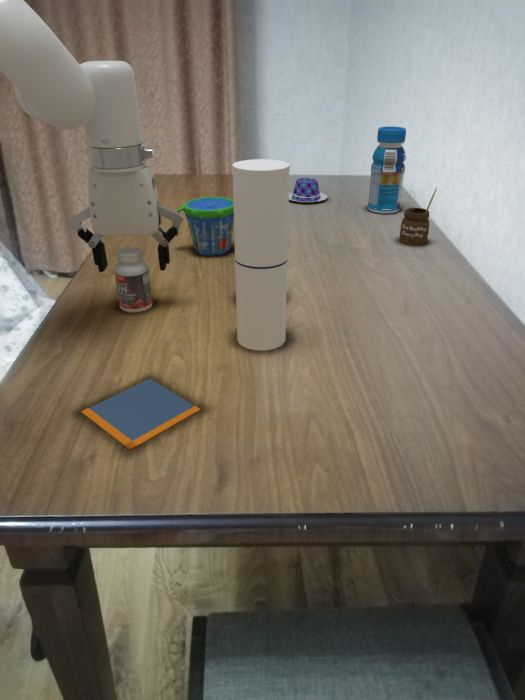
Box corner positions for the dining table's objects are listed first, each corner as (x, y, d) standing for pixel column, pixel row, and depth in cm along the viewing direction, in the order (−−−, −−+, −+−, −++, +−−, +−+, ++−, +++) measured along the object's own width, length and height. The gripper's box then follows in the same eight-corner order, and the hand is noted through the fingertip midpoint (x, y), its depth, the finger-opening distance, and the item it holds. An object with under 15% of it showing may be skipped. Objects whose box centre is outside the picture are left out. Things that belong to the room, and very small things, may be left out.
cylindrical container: (230, 347, 78) (224, 168, 65) (246, 325, 84) (243, 157, 71) (278, 354, 76) (280, 172, 63) (290, 331, 82) (295, 160, 69)
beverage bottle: (360, 209, 141) (367, 128, 131) (380, 204, 146) (388, 124, 136) (386, 216, 136) (396, 131, 126) (406, 210, 140) (417, 128, 130)
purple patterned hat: (306, 207, 143) (307, 187, 141) (275, 198, 151) (275, 179, 148) (336, 199, 150) (337, 180, 148) (305, 191, 158) (305, 173, 155)
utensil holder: (400, 236, 121) (407, 182, 115) (429, 239, 120) (437, 184, 114) (397, 245, 117) (404, 188, 111) (426, 248, 115) (435, 191, 109)
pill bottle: (115, 313, 88) (106, 255, 83) (125, 299, 92) (117, 244, 87) (147, 314, 87) (141, 257, 82) (156, 300, 92) (150, 245, 87)
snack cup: (169, 258, 110) (164, 208, 105) (183, 241, 119) (179, 195, 114) (244, 262, 108) (243, 211, 103) (253, 245, 117) (252, 197, 112)
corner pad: (81, 413, 64) (81, 411, 64) (150, 380, 70) (149, 377, 70) (130, 452, 58) (130, 449, 58) (200, 411, 64) (200, 409, 64)
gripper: (180, 151, 81) (189, 258, 90) (65, 153, 81) (85, 261, 90) (174, 161, 75) (185, 276, 83) (49, 163, 74) (73, 278, 83)
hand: (133, 268), depth 86 cm, fingers open, 9 cm apart
